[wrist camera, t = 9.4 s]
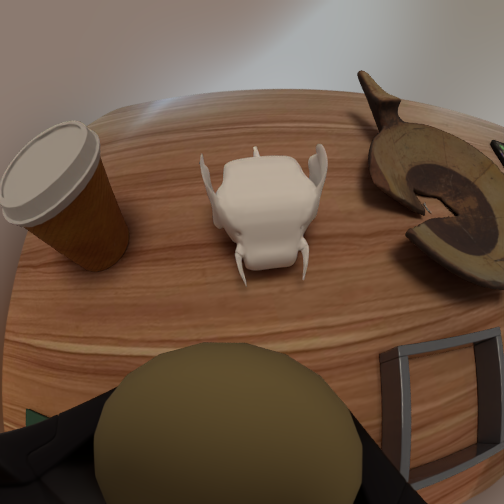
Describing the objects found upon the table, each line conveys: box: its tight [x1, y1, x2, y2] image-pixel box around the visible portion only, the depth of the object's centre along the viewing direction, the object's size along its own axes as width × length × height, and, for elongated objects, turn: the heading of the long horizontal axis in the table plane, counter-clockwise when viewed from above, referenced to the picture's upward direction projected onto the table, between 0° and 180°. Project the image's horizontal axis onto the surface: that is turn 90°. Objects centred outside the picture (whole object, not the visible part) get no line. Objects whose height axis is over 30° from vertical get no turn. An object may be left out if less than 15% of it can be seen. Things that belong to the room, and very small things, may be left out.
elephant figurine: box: [199, 144, 328, 287], centre depth 22 cm, size 10×12×9 cm
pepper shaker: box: [94, 342, 362, 504], centre depth 8 cm, size 6×6×11 cm
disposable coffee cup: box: [0, 121, 129, 272], centre depth 20 cm, size 10×10×12 cm
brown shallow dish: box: [357, 70, 504, 290], centre depth 25 cm, size 22×30×8 cm
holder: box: [380, 327, 504, 491], centre depth 16 cm, size 12×12×4 cm
